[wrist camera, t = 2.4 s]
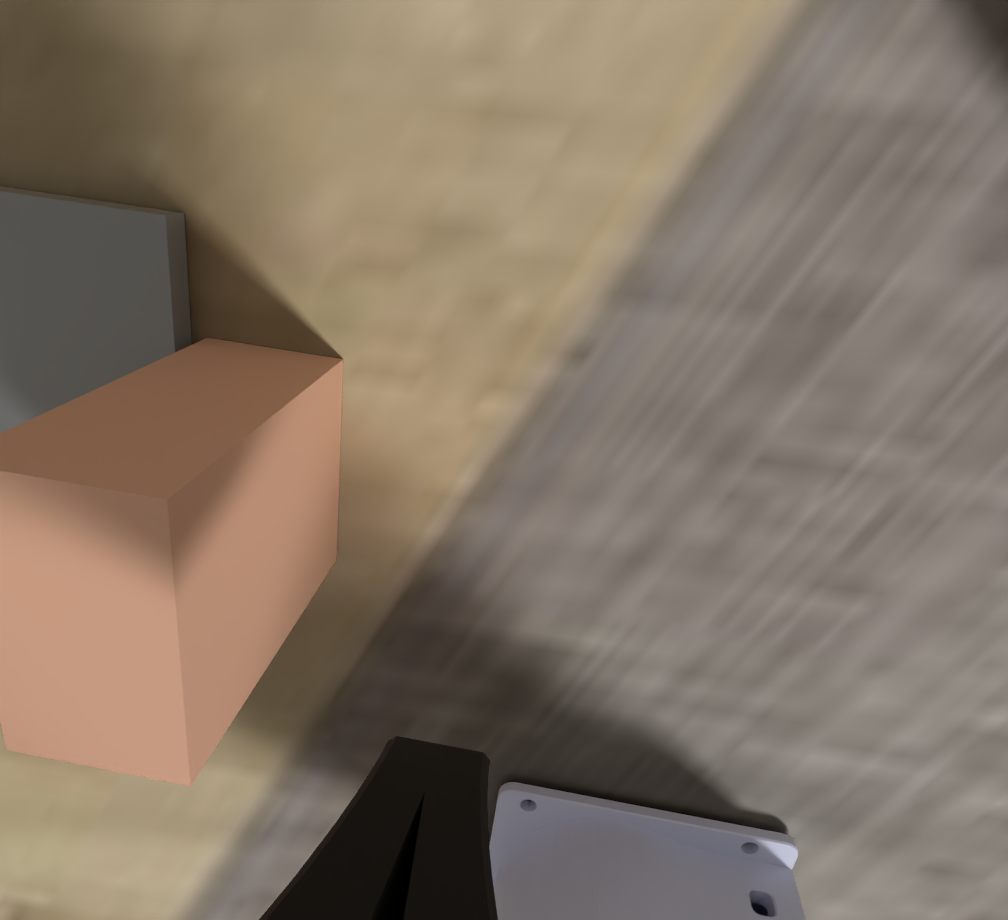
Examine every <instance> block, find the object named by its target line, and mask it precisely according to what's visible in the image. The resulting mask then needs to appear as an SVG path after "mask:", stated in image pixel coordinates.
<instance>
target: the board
mask: <svg viewBox="0 0 1008 920" xmlns="http://www.w3.org/2000/svg"><path fill="white" fill-rule="evenodd" d="M190 345H192V337H191V320H190V303H189V286H188V269H187V252H186V235H185V217H184V213H180V212H174V211H167V210H160V209H153V208H146V207H140V206H133V205H126V204H119V203H112V202H106V201H99V200H92V199H85V198H78V197H71V196H65V195H58V194H51V193H44V192H37V191H31V190H24V189H17V188H10V187H3V186H0V433H3V432H5V431H7V430H9V429H11V428H13V427H15V426H18V425H20V424H22V423H24V422H26V421H28V420H31V419H33V418H35V417H37V416H39V415H41V414H44V413H46V412H48V411H50V410H52V409H54V408H56V407H59V406H61V405H63V404H65V403H67V402H69V401H72V400H74V399H76V398H78V397H80V396H82V395H85V394H87V393H89V392H91V391H93V390H95V389H97V388H100V387H102V386H104V385H106V384H108V383H110V382H113V381H115V380H117V379H119V378H121V377H123V376H126V375H128V374H130V373H132V372H134V371H136V370H138V369H141V368H143V367H145V366H147V365H149V364H151V363H154V362H156V361H158V360H160V359H162V358H164V357H167V356H169V355H171V354H173V353H175V352H177V351H179V350H182V349H184V348H186V347H188V346H190Z"/></svg>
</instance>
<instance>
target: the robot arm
mask: <svg viewBox="0 0 1008 920" xmlns="http://www.w3.org/2000/svg"><path fill="white" fill-rule="evenodd" d="M489 764H490V760H489V759H488V758H487V756H486V755H485V754H484V753H483V752H478V751H472V750H467V749H462V748H456V747H451V746H446V745H440V744H435V743H430V742H425V741H419V740H414V739H409V738H403V737H398V736H397V737H395V738H393V739H391V740H389V741H388V743H387V744H386V746H385V748H384V750H383V752H382V753H381V755H380V757H379V759H378V760H377V762H376V764H375V765H374V767H373V768H372V770H371V772H370V773H369V775H368V776H367V778H366V780H365V781H364V783H363V784H362V786H361V787H360V789H359V790H358V792H357V793H356V795H355V796H354V798H353V799H352V800H351V802H350V803H349V805H348V806H347V808H346V809H345V810H344V812H343V813H342V815H341V816H340V818H339V819H338V820H337V822H336V823H335V825H334V826H333V827H332V829H331V830H330V831H329V832H328V834H327V835H326V836H325V838H324V839H323V840H322V842H321V843H320V844H319V846H318V847H317V848H316V850H315V851H314V852H313V854H312V855H311V856H310V858H309V859H308V860H307V862H306V863H305V864H304V865H303V867H302V868H301V869H300V871H299V872H298V873H297V875H296V876H295V877H294V878H293V880H292V881H291V882H290V883H289V885H288V886H287V887H286V888H285V889H284V890H283V892H282V893H281V894H280V895H279V896H278V898H277V899H276V900H275V901H274V902H273V904H272V905H271V906H270V907H269V908H268V910H267V911H266V912H265V913H264V914H263V915H262V917H261V918H260V919H259V920H806V919H805V915H804V911H803V908H802V904H801V901H800V897H799V893H798V890H797V886H796V882H795V879H794V875H793V872H792V868H793V866H794V864H795V862H796V859H797V857H798V849H797V845H796V842H795V840H794V839H793V838H792V837H791V836H789V835H786V834H784V833H779V832H773V831H768V830H763V829H758V828H753V827H747V826H742V825H737V824H732V823H726V822H721V821H716V820H711V819H705V818H700V817H695V816H690V815H685V814H679V813H674V812H669V811H664V810H658V809H653V808H648V807H643V806H637V805H632V804H627V803H622V802H617V801H611V800H606V799H601V798H596V797H590V796H585V795H580V794H575V793H569V792H564V791H559V790H554V789H549V788H543V787H538V786H533V785H528V784H522V783H517V782H509V783H505V784H503V785H502V786H501V787H500V789H499V792H498V798H497V804H496V810H495V816H494V822H493V828H492V834H491V839H490V845H489V833H488V813H487V788H488V772H489ZM527 800H532V801H527ZM747 842H750V843H747Z"/></svg>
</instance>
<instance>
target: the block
mask: <svg viewBox="0 0 1008 920" xmlns="http://www.w3.org/2000/svg"><path fill="white" fill-rule="evenodd" d="M342 385H343V359H339V358H333V357H326V356H320V355H314V354H307V353H301V352H295V351H288V350H282V349H276V348H269V347H263V346H257V345H250V344H244V343H238V342H231V341H225V340H219V339H212V338H205V339H203V340H201V341H199V342H197V343H195V344H192V345H190V346H188V347H186V348H184V349H182V350H179V351H177V352H175V353H173V354H171V355H169V356H167V357H164V358H162V359H160V360H158V361H156V362H154V363H151V364H149V365H147V366H145V367H143V368H141V369H138V370H136V371H134V372H132V373H130V374H128V375H126V376H123V377H121V378H119V379H117V380H115V381H113V382H110V383H108V384H106V385H104V386H102V387H100V388H97V389H95V390H93V391H91V392H89V393H87V394H85V395H82V396H80V397H78V398H76V399H74V400H72V401H69V402H67V403H65V404H63V405H61V406H59V407H56V408H54V409H52V410H50V411H48V412H46V413H44V414H41V415H39V416H37V417H35V418H33V419H31V420H28V421H26V422H24V423H22V424H20V425H18V426H15V427H13V428H11V429H9V430H7V431H5V432H3V433H0V722H1V727H2V731H3V736H4V740H5V745H6V749H7V750H10V751H15V752H20V753H25V754H30V755H35V756H40V757H45V758H50V759H55V760H60V761H65V762H70V763H75V764H80V765H85V766H90V767H95V768H100V769H105V770H110V771H115V772H120V773H125V774H131V775H136V776H141V777H146V778H151V779H156V780H161V781H166V782H171V783H176V784H181V785H186V786H191V785H192V783H193V782H194V780H195V779H196V777H197V776H198V774H199V772H200V771H201V769H202V768H203V766H204V765H205V763H206V762H207V760H208V758H209V757H210V755H211V754H212V752H213V751H214V749H215V748H216V746H217V745H218V743H219V741H220V740H221V738H222V737H223V735H224V734H225V732H226V731H227V729H228V728H229V726H230V724H231V723H232V721H233V720H234V718H235V717H236V715H237V714H238V712H239V710H240V709H241V707H242V706H243V704H244V703H245V701H246V700H247V698H248V697H249V695H250V693H251V692H252V690H253V689H254V687H255V686H256V684H257V683H258V681H259V680H260V678H261V676H262V675H263V673H264V672H265V670H266V669H267V667H268V666H269V664H270V662H271V661H272V659H273V658H274V656H275V655H276V653H277V652H278V650H279V649H280V647H281V645H282V644H283V642H284V641H285V639H286V638H287V636H288V635H289V633H290V632H291V630H292V628H293V627H294V625H295V624H296V622H297V621H298V619H299V618H300V616H301V614H302V613H303V611H304V610H305V608H306V607H307V605H308V604H309V602H310V601H311V599H312V597H313V596H314V594H315V593H316V591H317V590H318V588H319V587H320V585H321V584H322V582H323V580H324V579H325V577H326V576H327V574H328V573H329V571H330V570H331V568H332V566H333V565H334V563H335V562H336V560H337V541H338V510H339V479H340V448H341V416H342Z"/></svg>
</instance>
